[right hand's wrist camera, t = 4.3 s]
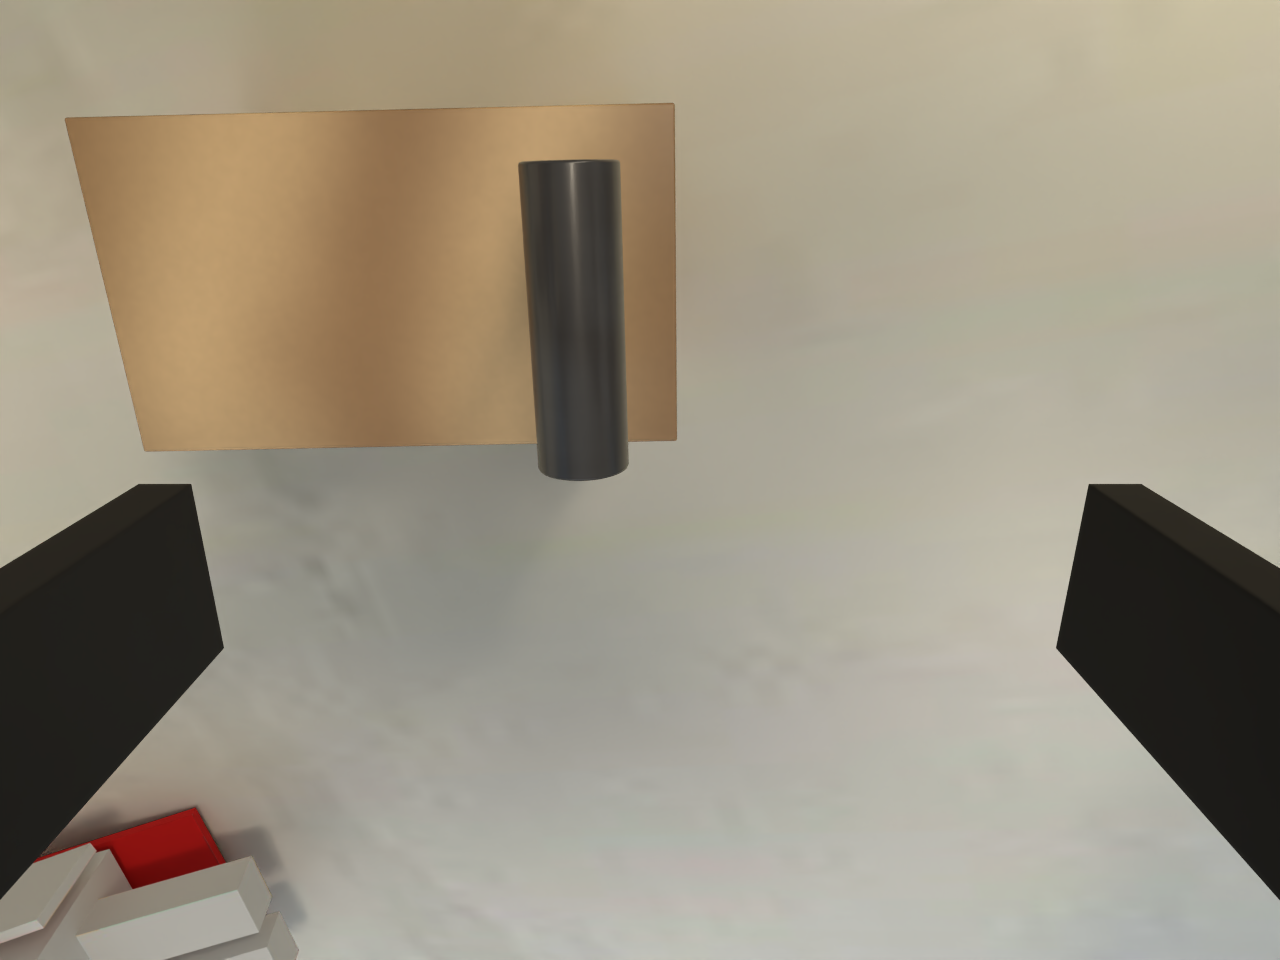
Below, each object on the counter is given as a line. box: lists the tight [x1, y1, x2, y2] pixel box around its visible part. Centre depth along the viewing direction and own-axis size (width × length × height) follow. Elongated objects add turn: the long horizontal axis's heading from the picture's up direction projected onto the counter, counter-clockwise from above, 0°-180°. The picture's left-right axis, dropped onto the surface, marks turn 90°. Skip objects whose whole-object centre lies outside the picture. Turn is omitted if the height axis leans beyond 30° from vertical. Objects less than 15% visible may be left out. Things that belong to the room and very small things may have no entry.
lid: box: [65, 103, 677, 481], centre depth 20 cm, size 16×10×8 cm, turn 91°
